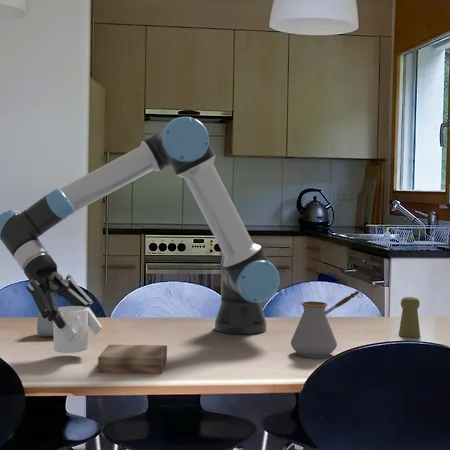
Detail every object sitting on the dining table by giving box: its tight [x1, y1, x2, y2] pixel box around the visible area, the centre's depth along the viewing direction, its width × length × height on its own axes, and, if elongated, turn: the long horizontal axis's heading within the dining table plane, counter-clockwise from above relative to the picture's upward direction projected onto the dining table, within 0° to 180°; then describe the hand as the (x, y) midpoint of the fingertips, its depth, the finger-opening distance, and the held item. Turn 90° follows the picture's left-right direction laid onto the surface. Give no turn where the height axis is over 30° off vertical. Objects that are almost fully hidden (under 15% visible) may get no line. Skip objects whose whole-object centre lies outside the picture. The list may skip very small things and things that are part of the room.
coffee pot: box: [290, 290, 363, 359], centre depth 176 cm, size 21×12×15 cm, turn 123°
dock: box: [97, 344, 168, 374], centre depth 160 cm, size 14×13×4 cm
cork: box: [398, 296, 421, 339], centre depth 198 cm, size 6×6×11 cm
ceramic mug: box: [36, 309, 54, 338], centre depth 194 cm, size 11×8×8 cm
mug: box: [53, 305, 89, 354], centre depth 166 cm, size 8×12×10 cm
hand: (86, 333), depth 165 cm, fingers closed on mug, 8 cm apart
